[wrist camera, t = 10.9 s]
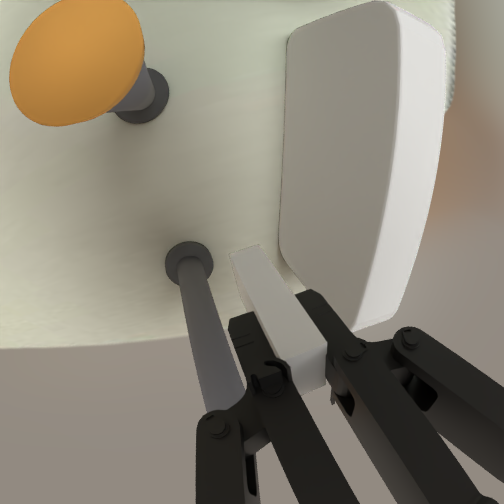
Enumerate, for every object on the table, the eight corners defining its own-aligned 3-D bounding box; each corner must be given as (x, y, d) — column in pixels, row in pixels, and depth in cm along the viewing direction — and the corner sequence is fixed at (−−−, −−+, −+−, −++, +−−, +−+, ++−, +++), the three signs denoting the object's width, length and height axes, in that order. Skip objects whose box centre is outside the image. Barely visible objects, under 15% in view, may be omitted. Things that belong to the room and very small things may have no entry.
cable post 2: (158, 250, 33) (183, 445, 13) (205, 235, 34) (280, 416, 14) (173, 288, 37) (212, 467, 17) (216, 274, 38) (287, 444, 18)
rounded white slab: (325, 244, 41) (405, 323, 26) (276, 251, 39) (348, 345, 24) (341, 43, 27) (460, 32, 12) (286, 32, 25) (397, -7, 10)
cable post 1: (107, 79, 22) (-28, 24, 2) (162, 62, 23) (176, -65, 3) (119, 130, 25) (7, 208, 5) (173, 113, 26) (214, 128, 6)
